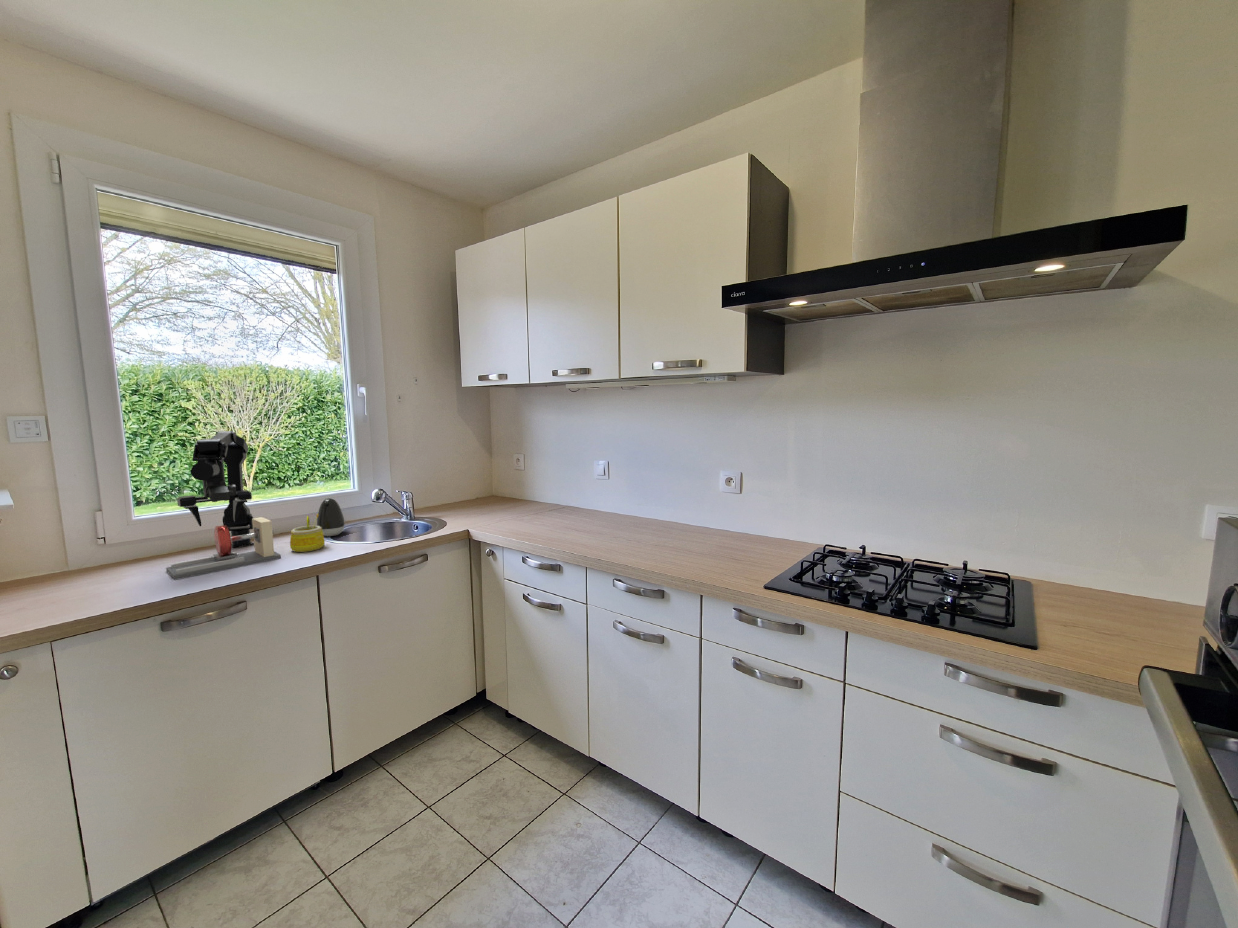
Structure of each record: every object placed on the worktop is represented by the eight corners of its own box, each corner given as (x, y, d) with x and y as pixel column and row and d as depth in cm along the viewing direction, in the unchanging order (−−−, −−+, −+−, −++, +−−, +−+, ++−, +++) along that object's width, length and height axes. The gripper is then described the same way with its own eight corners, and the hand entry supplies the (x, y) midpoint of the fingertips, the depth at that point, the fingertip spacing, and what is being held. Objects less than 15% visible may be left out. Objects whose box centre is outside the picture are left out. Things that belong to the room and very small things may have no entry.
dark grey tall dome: (313, 538, 199) (310, 501, 197) (321, 532, 209) (318, 496, 207) (341, 536, 201) (339, 499, 200) (348, 530, 211) (345, 495, 210)
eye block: (166, 571, 160) (161, 530, 159) (269, 551, 181) (266, 515, 180) (174, 579, 152) (169, 537, 150) (280, 558, 173) (277, 520, 171)
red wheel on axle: (212, 558, 168) (209, 524, 166) (270, 548, 180) (267, 516, 179) (219, 564, 161) (216, 529, 160) (279, 553, 174) (276, 520, 172)
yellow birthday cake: (309, 554, 178) (306, 521, 176) (283, 552, 180) (280, 520, 178) (336, 544, 190) (333, 513, 189) (311, 543, 192) (309, 512, 191)
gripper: (181, 482, 153) (186, 532, 154) (254, 476, 167) (258, 521, 168) (174, 479, 160) (179, 527, 162) (245, 474, 174) (249, 518, 176)
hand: (218, 523), depth 167 cm, fingers open, 9 cm apart
